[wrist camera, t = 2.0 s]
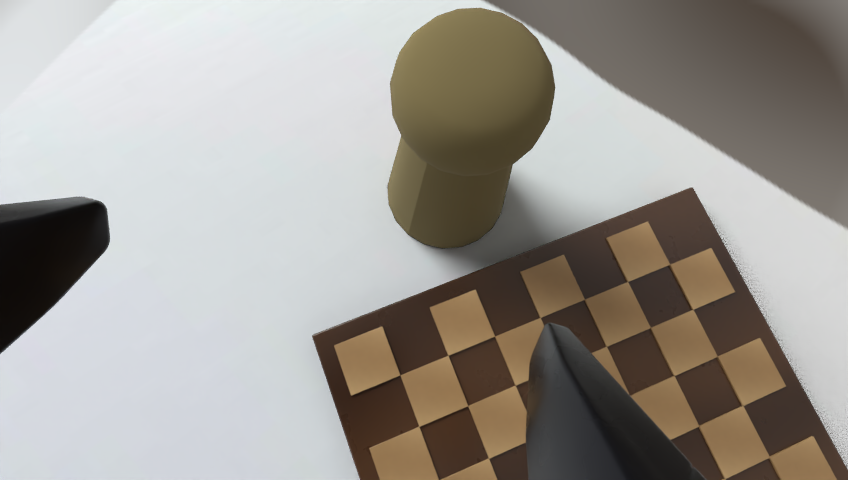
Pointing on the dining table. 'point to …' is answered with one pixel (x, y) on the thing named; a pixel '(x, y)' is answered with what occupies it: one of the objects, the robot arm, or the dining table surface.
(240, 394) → the dining table surface
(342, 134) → the dining table surface
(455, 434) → the chessboard
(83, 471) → the dining table surface
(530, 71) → the chess pawn
